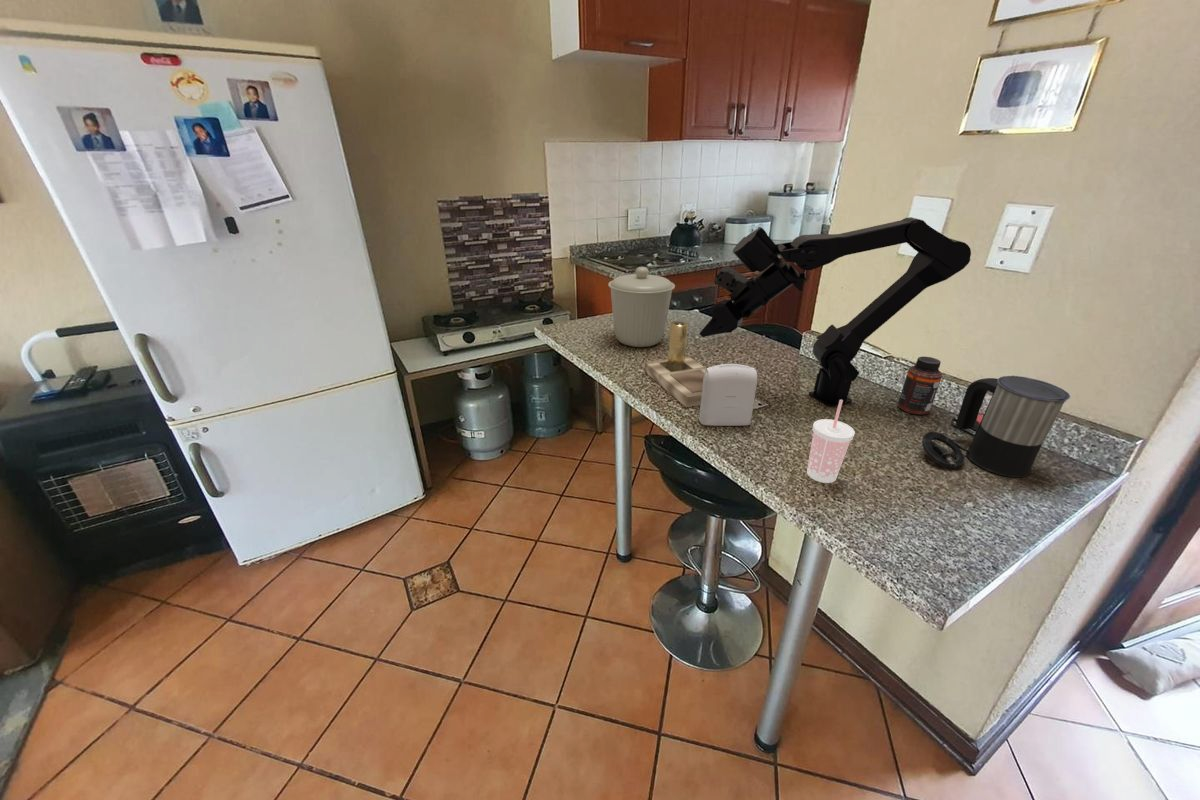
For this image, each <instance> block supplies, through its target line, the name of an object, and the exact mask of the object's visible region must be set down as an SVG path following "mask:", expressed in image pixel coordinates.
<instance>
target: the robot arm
mask: <svg viewBox="0 0 1200 800" xmlns="http://www.w3.org/2000/svg"><path fill="white" fill-rule="evenodd" d="M901 244H907V245H908V246H910V247H911V248H912V249H913V250H914V251H916V252H917V253H916V254H915V255H914V257H913V258H912V260H911V262H910V265H909V266H908V268H907V270H906V271H905V273H904V274H902V275H901V276H900V277H899V278H898V279H897V280H896V281H894V282H893V283H892V284H891V285H890V286H889V287H888V288H886V289H885V290H884V291H883V292H882V293H881V294H879V295H878V296H877V297H876V298H875V299H874V300H873V301H872V302H871V303H870V304H868V305H867V306H866V307H865V308H864V309H862V310H861V311H860V312H859V313H858V314H857V315H855V317H853V318H852V319H851V320H850V321H849V322H848V323H846V324H845V325H842V326H840V327H836V326H835V325H834V324H830V325H829V326H828V327H827V328H826V329H825V331H824V332H822V333H821V334H820V335H817V336H816V341H815V342H814V344H813V345H812V353H813V356H814V357H815V358H816V360H817V361H818V363H819V366H820V367H821V368H819V371H818V373H817V375H816V378H815V383H814V387H813V391H810V392H808V396H810V397H812V398H813V399H815V400H817V401H819V402H820V403H822V404H824V405H826V406H828V407H834V406H838V404H839V401H840V400H843V402H842V405H844V404H849V403H852V400H853V399H852V398H850V397H849V393H850V391H851V390H850V389H851V386H852V382H854V381H856V379H857V377H858V376H859V374H860V371H859V370H858V369H857V368H856V367H855V366H854V364H853V363H852V361H853V360H854V359H855V357H857V355H858V354H859V351H860V349H861V347H862V345H863V343H864V342H865V340H866V339H868V338H869V337H870V336H872V334H874V333H875V332H876V331H877V330H878V329H880V327H882V326H884V324H886V323H887V322H888V321H889V320H890V319H891V318H893V317H894V316H895V315H896V314H897V313H898V312H899V311H901V310H902V309H903V308H905V306H907V305H908V304H909V303H910V302H911V301H913V299H915V298H916V297H917V296H918V295H920V294H921V293H922V292H923V291H925V290H926V289H927V288H929V287H932V286H934V285H936V284H937V285H938V284H939V283H941V282H945V281H946V280H948V279H950V278H951V277H953V276H954V275H956V274H958V273H960V272H961V271H962V270H964V269H965V268H966V267H967V266H968V265H969V263H970V262H971V255H972V250H971V247H970V246H969V245H968V244H967V243H966V242H963V241H960V240H956V239H953V238H950V237H947V236H946V235H944V234H943V233H941V232H939V231H938V230H936V229H934V228H933V227H932V226H930V225H929V224H928V223H927V222H926V221H924V220H923V219H919V218H916V217H909V216H908V217H905V218H903V219H901V220H897V221H892V222H887V223H884V224H878V225H873V226H868V227H864V228H861V229H856V230H852V231H848V232H847V231H845V232H843V233H838V234H837V233H834V234H833V233H832V234H829V233H828V234H827V233H826V234H825V233H824V234H823V233H822V234H821V233H819V234H802V235H798V236H797V237H795V238H794V239H792V241H788V242H787V241H786V242H783V243H777V244H776V243H775V242H774V241H773V240H772V238H770V236H769V235H768V233H767V232H766V230H765V229H764V228H763V227H761V226H759V227H757V228H756V230H754V231H751V232H750V233H749V234H748V235H747V236H744V237H742V239H740V241H739V242H737V243H736V245H735V247H733V249H732V253H733V255H735V256H736V258H737V259H738V260H739V261H741V263H743V265H744V266H745V267H746V268H747V269H748V270H749V272H751V273H754V272H759V274H758V275H756V276H753V277H751V278H750V279H748V278H747V277H746V276H744V275H743V274H742V273H740V272H739V271H738V270H735V269H734V268H732V267H731V266H727V265H726V266H724V267H722V268H721V269H720V270H719V272H718V273H717V274H716V275H715V279H714V280H713V283H714V284H715V285H716V286H718V287H719V286H720V287H721V288H722V289H724V290H725V291H727V292H729V293H730V294H728V296H729V298H730V300H729V299H722V300H721V301H719V302H718V303H716V304H715V305H714V306H712V307H711V312H710V313H711V314H712V317H711V319H710V320H709V321H708V322H707V323H706V325H705V326H704V327H703V328H702V329H701V331H700V332H699V335H700V337H701V338H705V337H710V336H715V335H720V334H725V333H727V334H728V333H729V334H731V333H732V332H734V331H735V330H736V329H738V328H739V327H740V326H741V325H742V324H743V319H746V318H750V317H751V316H752V315H753V314H754V313H755V312H757V311H758V310H759V309H761V308H763V307H765V305H767V304H768V303H770V301H772V300H773V299H775V298H776V297H777V296H779V295H780V294H782V293H783V292H785V290H787V289H789V288H790V287H792V286H794V287H795V288H796V289H797V291H799V292H803V291H804V288H803V287H804V284H805V281H806V277H807V275H806V273H804V272H803V273H802V272H798V271H797V270H796V269H795V268H794V266H793V265H792V264H794V265H795V266H797V267H799V268H800V269H802V270H803V271H812V270H816V269H818V268H820V267H821V268H822V267H823V266H826V265H828V264H829V265H830V264H831V263H833V262H834V261H836V260H838V259H839V258H842V257H845V256H850V255H855V254H859V253H863V252H868V251H874V250H878V249H883V248H886V247H891V246H897V245H901ZM779 256H780V258H779ZM781 258H782V259H783V260H784V261H786V262H788V263H785V262H784V261H783V260H781ZM791 263H792V264H791Z"/></svg>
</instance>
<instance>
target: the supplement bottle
mask: <svg viewBox="0 0 1200 800" xmlns="http://www.w3.org/2000/svg"><path fill="white" fill-rule="evenodd" d="M915 363H916V364H914V365H912V366H910V367H909V368H908V370H907V373H906V375H905V379H904V382H903V385H902V388H901V392H900V395H899V399H898V402H897V407H898V408H899V409H901V410H903V411H904V412H905V413H908V414H912V415H918V416H919V415H927V414H929V413H930V412H931V408H932V406H933V403H934V401H935V397H936V395H937V391H938V389H939V386H940V383H941V381H942V380H941V379H942V377H943V374H942V372H941V371H940V370H939V369H940V366H941V363H942V362H941V360H939V358H935V357H931V356H918V357H917V360H916V362H915Z"/></svg>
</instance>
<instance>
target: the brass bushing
mask: <svg viewBox="0 0 1200 800" xmlns="http://www.w3.org/2000/svg"><path fill="white" fill-rule="evenodd" d="M688 331H689V323H688V322H686V321H682V320H681V321H680V320H674V321H672V322H671V321H670V330H669V338H668V339H669V342H668V352H667V353H668V354H667V355H668V357H667V359H668V365H667V370H669V371H670V372H674V371H681V370H684V364H685V357H686V352H687V341H688Z"/></svg>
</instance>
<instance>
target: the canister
mask: <svg viewBox="0 0 1200 800" xmlns="http://www.w3.org/2000/svg"><path fill="white" fill-rule="evenodd" d="M649 271H650V270H649V269H648V268H647V267H646V266H638V267H637V268H636V269H635V274H634V273H633V274H625V275H620V276H617V277H615V278H614V279H612V280H611V281H609V282H608V284H607V285H608V287H609V289H610V298H611V307H612V308H611V309H612V320H613V327H614V328H613V329H614V334H615V337H616V339H617V340H618V342H620V343H621V344H622V345H625V346H628V347H634V348H647V347H652V346H656V345H657V344H659V343H660V342H661V341H662V339H663V336H664V334H665V330H666V325H667V320H668V315H669V310H670V304H671V299H672V293H673V290H675V287H676V285H675V283H674V282H672V281H670V280H669V279H668V278H666V277H664V276H661V275H654V274H650V273H649Z"/></svg>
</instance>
